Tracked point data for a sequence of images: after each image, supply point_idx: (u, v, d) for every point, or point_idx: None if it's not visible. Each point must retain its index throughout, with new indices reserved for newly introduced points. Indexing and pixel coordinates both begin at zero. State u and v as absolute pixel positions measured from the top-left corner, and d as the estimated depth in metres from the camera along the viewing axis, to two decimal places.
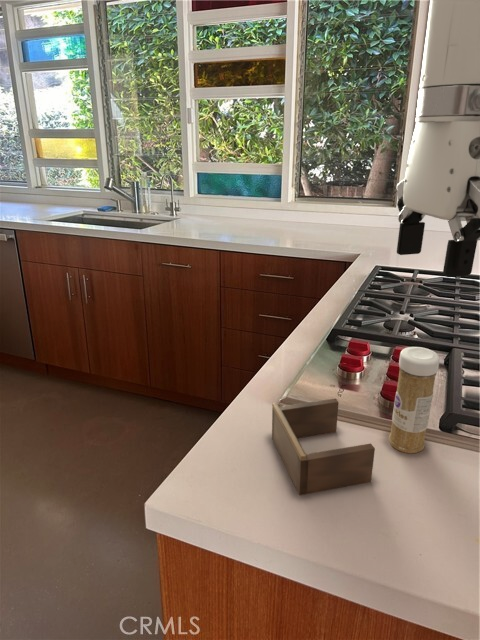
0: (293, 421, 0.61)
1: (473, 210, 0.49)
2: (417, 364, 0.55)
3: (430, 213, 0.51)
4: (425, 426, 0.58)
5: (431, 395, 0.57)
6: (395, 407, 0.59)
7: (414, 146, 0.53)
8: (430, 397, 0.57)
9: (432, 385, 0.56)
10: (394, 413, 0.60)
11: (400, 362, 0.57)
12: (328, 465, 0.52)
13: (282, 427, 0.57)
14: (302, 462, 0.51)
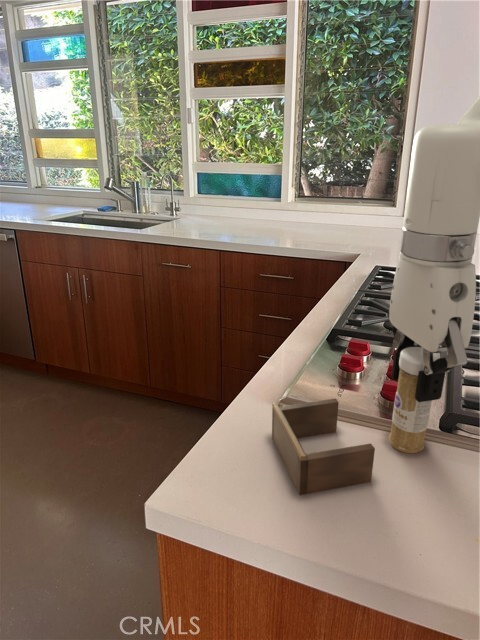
0: (293, 421, 0.61)
1: None
2: (418, 364, 0.54)
3: (414, 341, 0.54)
4: (425, 426, 0.58)
5: None
6: (395, 407, 0.59)
7: (399, 273, 0.55)
8: None
9: None
10: (394, 413, 0.60)
11: (400, 362, 0.57)
12: (328, 465, 0.52)
13: (282, 427, 0.57)
14: (302, 462, 0.51)
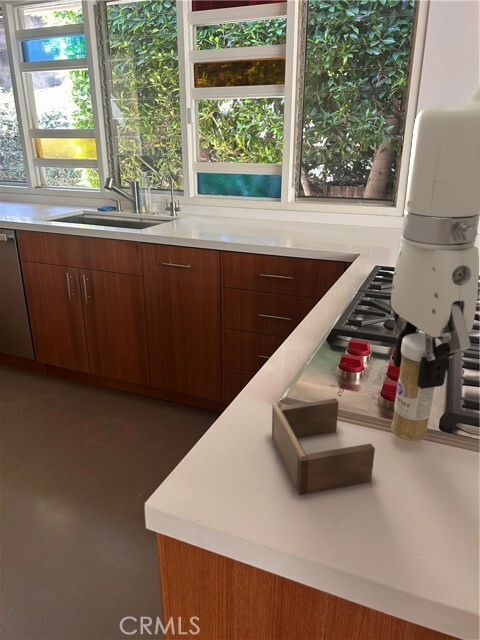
0: (293, 421, 0.61)
1: None
2: (420, 350, 0.54)
3: (416, 326, 0.53)
4: (428, 414, 0.58)
5: None
6: (397, 395, 0.58)
7: (401, 258, 0.54)
8: None
9: None
10: (396, 401, 0.59)
11: (402, 349, 0.56)
12: (328, 465, 0.52)
13: (282, 427, 0.57)
14: (302, 462, 0.51)
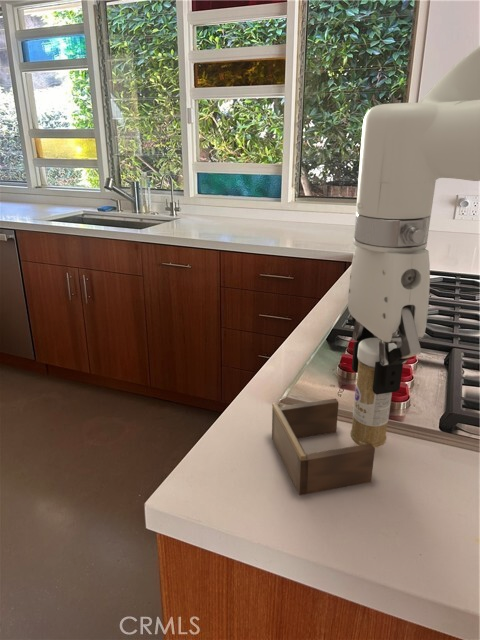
0: (293, 421, 0.61)
1: None
2: (374, 355, 0.53)
3: (370, 331, 0.52)
4: (385, 420, 0.56)
5: None
6: (355, 400, 0.57)
7: (355, 261, 0.53)
8: None
9: None
10: (354, 406, 0.58)
11: (358, 353, 0.55)
12: (328, 465, 0.52)
13: (282, 427, 0.57)
14: (302, 462, 0.51)
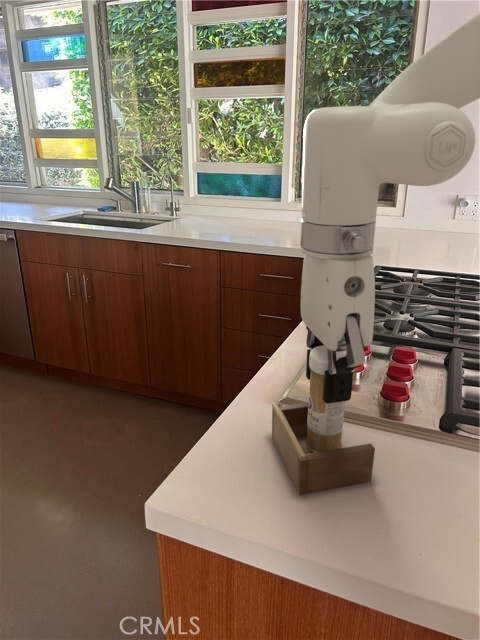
0: (293, 421, 0.61)
1: None
2: (324, 363, 0.51)
3: (319, 339, 0.51)
4: (339, 429, 0.55)
5: None
6: (308, 409, 0.56)
7: (304, 267, 0.52)
8: None
9: None
10: (308, 415, 0.57)
11: (309, 361, 0.54)
12: (328, 465, 0.52)
13: (282, 427, 0.57)
14: (302, 462, 0.51)
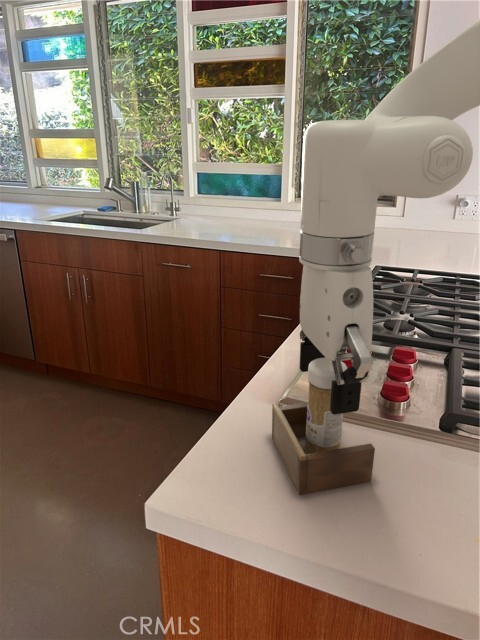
0: (293, 421, 0.61)
1: None
2: (322, 376, 0.52)
3: (317, 348, 0.51)
4: (337, 440, 0.56)
5: None
6: (307, 420, 0.57)
7: (304, 277, 0.52)
8: None
9: None
10: (306, 426, 0.57)
11: (308, 374, 0.54)
12: (328, 465, 0.52)
13: (282, 427, 0.57)
14: (302, 462, 0.51)
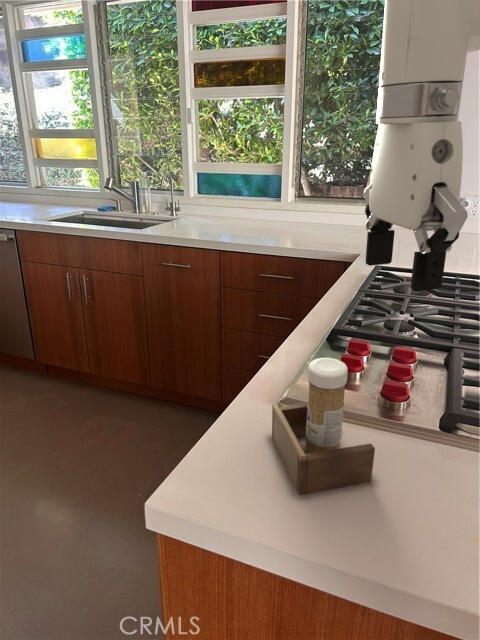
0: (293, 421, 0.61)
1: (440, 219, 0.45)
2: (322, 376, 0.52)
3: (395, 222, 0.47)
4: (337, 440, 0.56)
5: (340, 408, 0.54)
6: (307, 420, 0.57)
7: (378, 149, 0.48)
8: (339, 411, 0.54)
9: (341, 398, 0.54)
10: (306, 426, 0.57)
11: (308, 374, 0.54)
12: (328, 465, 0.52)
13: (282, 427, 0.57)
14: (302, 462, 0.51)
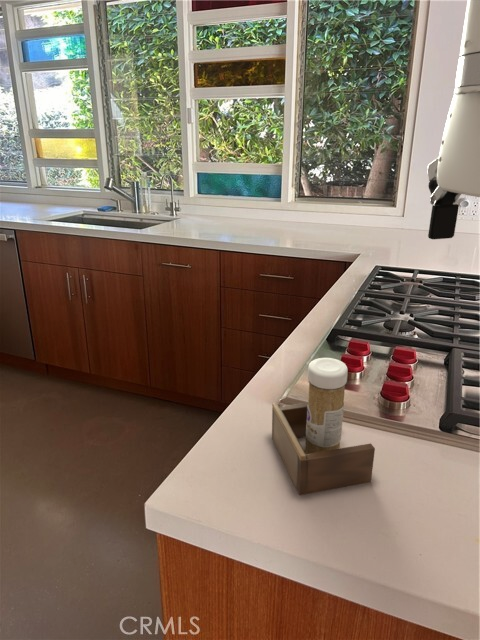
0: (293, 421, 0.61)
1: None
2: (322, 376, 0.52)
3: (470, 192, 0.48)
4: (337, 440, 0.56)
5: (340, 408, 0.54)
6: (307, 420, 0.57)
7: (451, 120, 0.49)
8: (339, 410, 0.54)
9: (341, 398, 0.54)
10: (306, 426, 0.57)
11: (308, 374, 0.54)
12: (328, 465, 0.52)
13: (282, 427, 0.57)
14: (302, 462, 0.51)
